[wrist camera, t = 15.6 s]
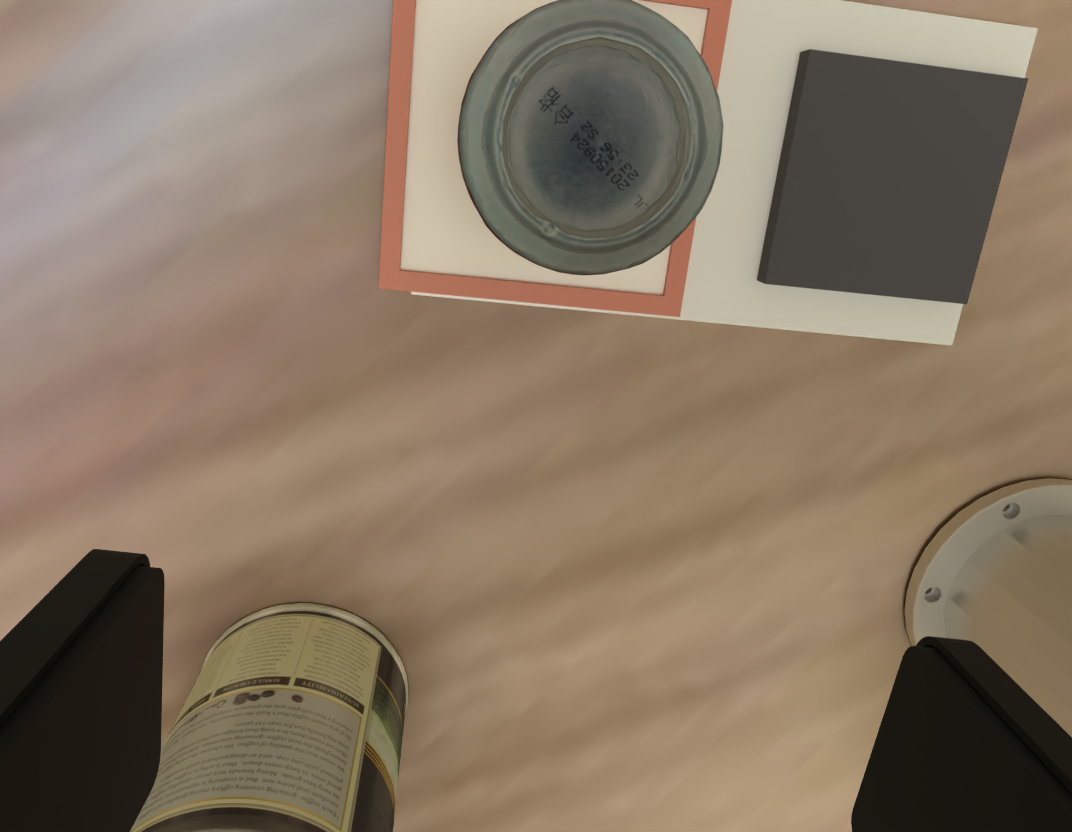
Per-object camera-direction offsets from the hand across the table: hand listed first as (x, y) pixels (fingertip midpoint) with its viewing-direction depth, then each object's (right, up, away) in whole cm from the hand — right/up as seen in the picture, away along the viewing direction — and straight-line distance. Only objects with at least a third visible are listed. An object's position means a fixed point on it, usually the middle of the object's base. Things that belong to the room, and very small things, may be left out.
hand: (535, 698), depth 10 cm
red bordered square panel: (+1, +14, +22) cm, 27 cm away
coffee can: (-11, -10, +31) cm, 34 cm away
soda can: (+1, +14, +22) cm, 26 cm away
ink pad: (+14, +13, +24) cm, 31 cm away
